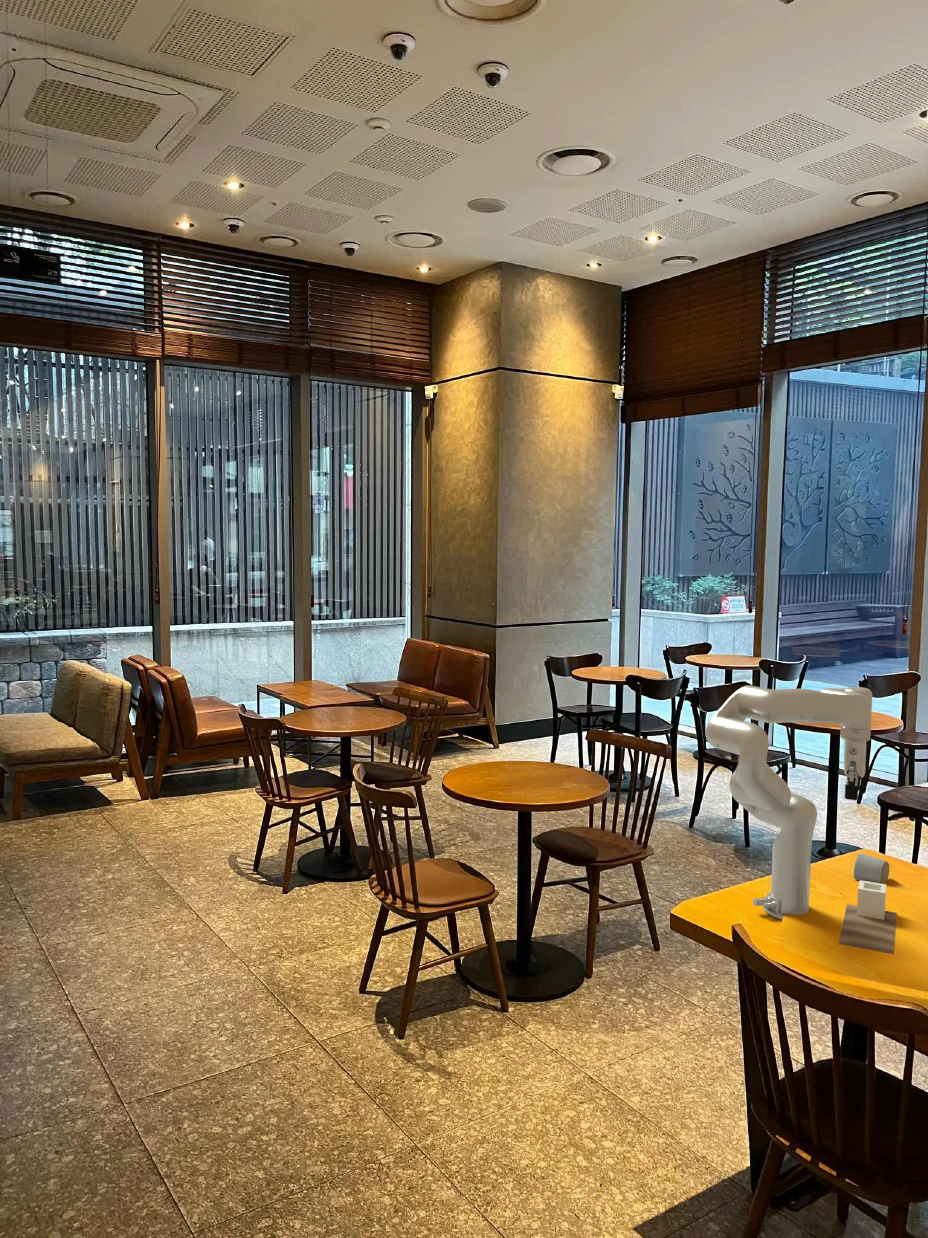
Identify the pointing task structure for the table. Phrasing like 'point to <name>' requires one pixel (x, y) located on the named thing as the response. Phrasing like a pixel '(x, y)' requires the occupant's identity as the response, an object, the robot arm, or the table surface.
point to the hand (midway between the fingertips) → (852, 794)
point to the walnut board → (868, 931)
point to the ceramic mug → (871, 869)
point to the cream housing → (871, 899)
